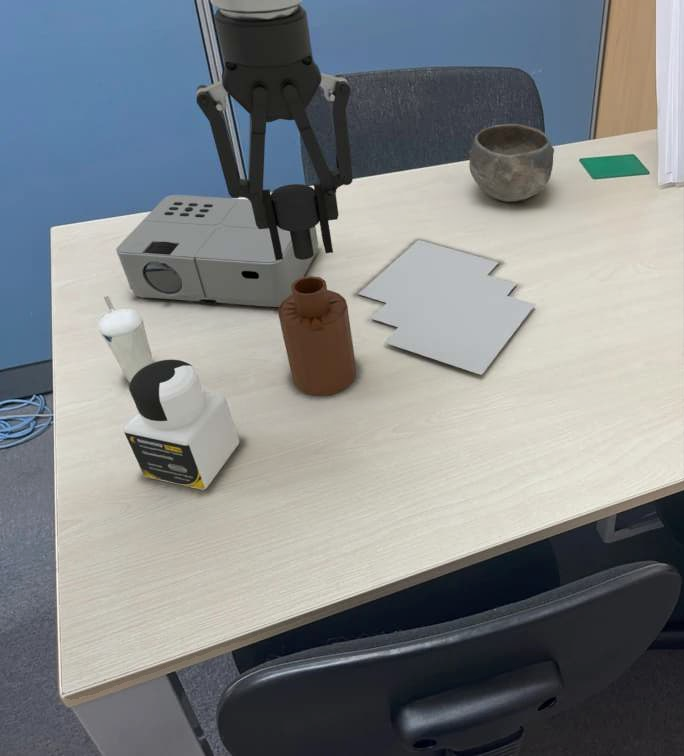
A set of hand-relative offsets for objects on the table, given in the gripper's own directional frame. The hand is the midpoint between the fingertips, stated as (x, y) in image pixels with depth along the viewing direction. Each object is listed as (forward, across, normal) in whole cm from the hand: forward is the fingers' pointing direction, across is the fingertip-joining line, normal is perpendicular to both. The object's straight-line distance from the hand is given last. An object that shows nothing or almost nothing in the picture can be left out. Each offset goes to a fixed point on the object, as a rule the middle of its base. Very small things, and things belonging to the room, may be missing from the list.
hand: (303, 249), depth 75 cm
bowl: (+18, -37, -40) cm, 57 cm away
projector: (+18, +10, -26) cm, 33 cm away
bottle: (+18, 0, 0) cm, 18 cm away
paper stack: (+18, -18, -11) cm, 27 cm away
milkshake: (+18, +21, -6) cm, 28 cm away
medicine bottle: (+18, +15, +10) cm, 25 cm away
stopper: (+1, 0, 0) cm, 1 cm away
